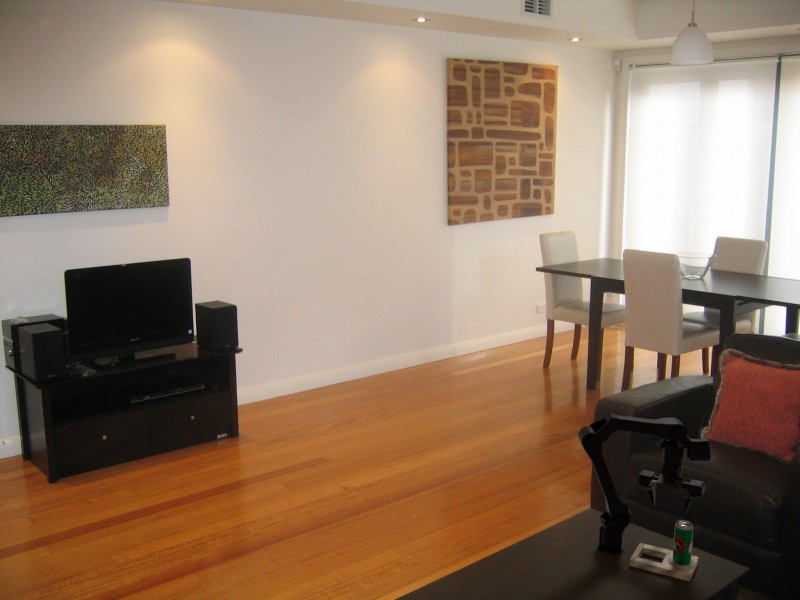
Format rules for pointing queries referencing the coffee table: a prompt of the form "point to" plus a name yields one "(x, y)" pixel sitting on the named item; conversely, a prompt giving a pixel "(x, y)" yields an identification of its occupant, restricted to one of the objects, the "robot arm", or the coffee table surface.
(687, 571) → the pocket board
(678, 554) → the soda can
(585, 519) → the coffee table surface
